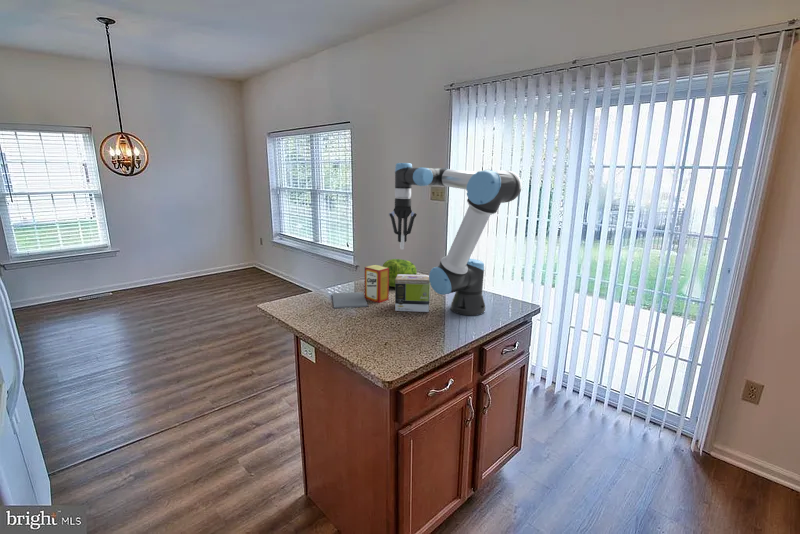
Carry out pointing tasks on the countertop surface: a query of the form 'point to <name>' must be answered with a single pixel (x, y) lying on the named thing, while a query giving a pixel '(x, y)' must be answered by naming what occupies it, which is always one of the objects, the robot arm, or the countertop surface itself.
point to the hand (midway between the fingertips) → (401, 248)
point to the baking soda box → (376, 283)
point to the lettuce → (399, 269)
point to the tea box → (412, 292)
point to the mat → (349, 300)
